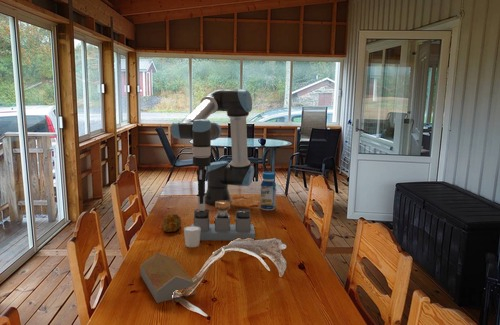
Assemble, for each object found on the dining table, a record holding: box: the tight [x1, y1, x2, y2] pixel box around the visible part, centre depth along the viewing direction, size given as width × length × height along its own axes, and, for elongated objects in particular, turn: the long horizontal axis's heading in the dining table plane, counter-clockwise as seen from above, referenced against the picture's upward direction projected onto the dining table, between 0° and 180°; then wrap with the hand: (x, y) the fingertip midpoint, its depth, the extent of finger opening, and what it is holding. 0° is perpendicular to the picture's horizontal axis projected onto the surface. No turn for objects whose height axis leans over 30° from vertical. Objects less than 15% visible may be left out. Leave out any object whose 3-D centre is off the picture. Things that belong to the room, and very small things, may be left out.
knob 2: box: [235, 208, 252, 219], centre depth 170 cm, size 6×6×7 cm
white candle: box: [183, 225, 201, 248], centre depth 159 cm, size 7×7×7 cm
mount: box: [190, 213, 256, 241], centre depth 170 cm, size 12×28×8 cm, turn 93°
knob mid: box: [214, 200, 231, 218], centre depth 169 cm, size 6×6×7 cm
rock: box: [162, 212, 182, 233], centre depth 177 cm, size 11×8×10 cm
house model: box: [139, 252, 196, 304], centre depth 125 cm, size 20×12×8 cm, turn 29°
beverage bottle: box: [259, 171, 277, 211], centre depth 212 cm, size 8×8×20 cm
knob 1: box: [193, 208, 210, 218], centre depth 169 cm, size 6×6×7 cm
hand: (201, 210), depth 168 cm, fingers closed
